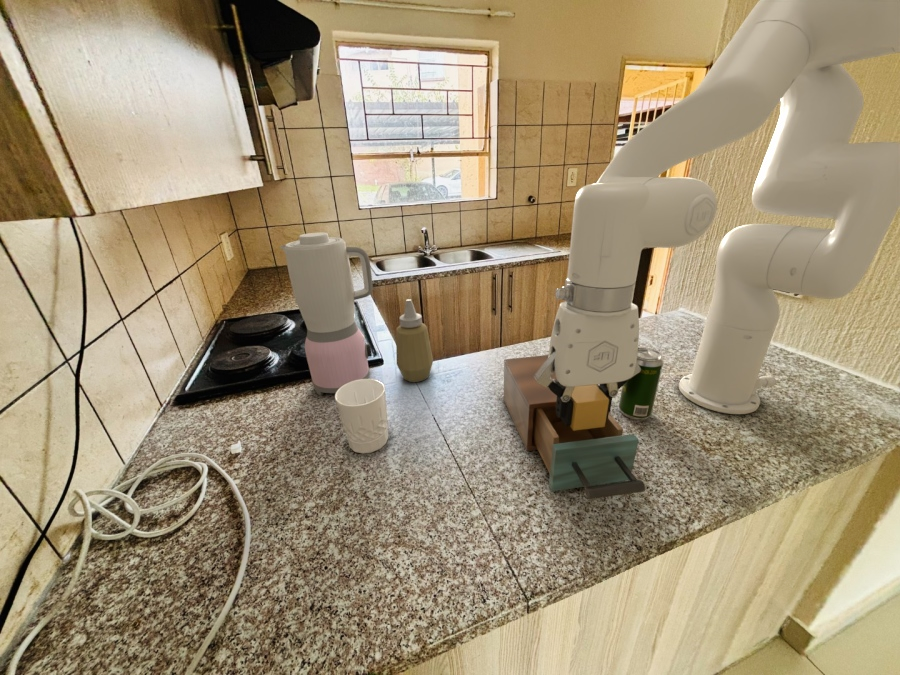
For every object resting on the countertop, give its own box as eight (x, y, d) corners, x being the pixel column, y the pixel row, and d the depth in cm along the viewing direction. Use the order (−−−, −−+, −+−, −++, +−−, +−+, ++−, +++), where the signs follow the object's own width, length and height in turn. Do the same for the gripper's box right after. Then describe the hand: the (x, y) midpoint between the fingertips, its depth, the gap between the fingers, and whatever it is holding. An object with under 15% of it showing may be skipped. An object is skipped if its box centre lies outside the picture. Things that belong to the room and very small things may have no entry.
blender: (310, 402, 73) (270, 243, 60) (315, 373, 84) (282, 232, 71) (388, 389, 76) (366, 235, 63) (383, 363, 87) (364, 226, 74)
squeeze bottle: (429, 386, 77) (422, 307, 69) (393, 384, 78) (382, 306, 71) (437, 368, 84) (432, 294, 76) (404, 365, 85) (396, 293, 78)
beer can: (657, 420, 63) (671, 360, 58) (626, 422, 63) (638, 362, 58) (641, 402, 68) (653, 345, 63) (613, 404, 68) (623, 347, 63)
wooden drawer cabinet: (601, 441, 59) (608, 395, 55) (526, 451, 58) (529, 404, 54) (564, 392, 72) (568, 352, 68) (503, 399, 71) (504, 359, 67)
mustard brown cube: (589, 407, 53) (592, 381, 51) (604, 426, 49) (609, 399, 47) (559, 411, 53) (562, 384, 51) (573, 430, 49) (576, 403, 47)
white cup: (399, 429, 64) (393, 382, 60) (377, 460, 57) (368, 409, 53) (361, 422, 67) (352, 375, 62) (336, 451, 60) (324, 401, 56)
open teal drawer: (655, 513, 46) (667, 470, 42) (568, 526, 44) (574, 483, 41) (585, 420, 63) (590, 385, 60) (522, 428, 62) (523, 392, 59)
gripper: (541, 311, 39) (532, 442, 47) (686, 298, 41) (654, 427, 48) (520, 290, 46) (515, 408, 53) (645, 280, 47) (623, 396, 55)
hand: (581, 416), depth 51 cm, fingers closed on mustard brown cube, 4 cm apart
